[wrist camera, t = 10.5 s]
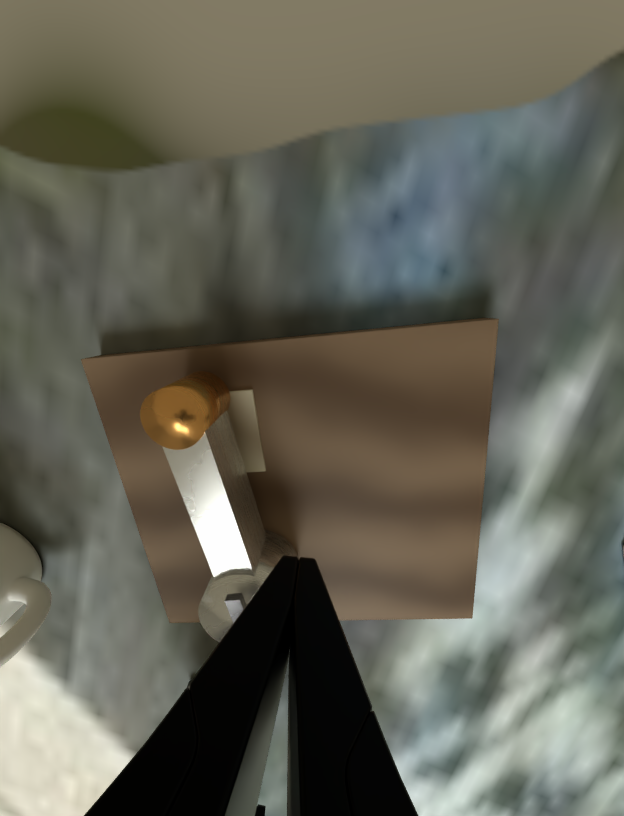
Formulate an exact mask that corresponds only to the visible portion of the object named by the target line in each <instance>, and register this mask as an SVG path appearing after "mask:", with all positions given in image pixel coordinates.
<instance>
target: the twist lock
mask: <svg viewBox="0 0 624 816" xmlns="http://www.w3.org/2000/svg"><path fill="white" fill-rule="evenodd" d="M229 406H230V393H229V390H228V388H227V386H226V384H225V383H224V382H223V381H222V380H221V379H220V378H219V377H218V376H216V375H214V374H212V373H209V372H204V371H199V372H194V373H192V374H190V375H188V376H186V377H183V378H181V379H179V380H177V381H175V382H173V383H171V384H169V385H167V386H165V387H163V388H160V389H158V390H156V391H154V392H152V393H151V394H149V395H148V396H147V397H146V398H145V400H144V401H143V403H142V406H141V410H140V419H141V423H142V426H143V428H144V430H145V432H146V433H147V434H148V436H149V437H150V438H151V439H152V440H153V441H155V442H156V443H157V444H159V445H161V446H162V447H163V450H164V452H165V455H166V457H167V460H168V462H169V465H170V467H171V470H172V473H173V475H174V478H175V480H176V483H177V485H178V488H179V490H180V493H181V495H182V498H183V500H184V503H185V505H186V508H187V510H188V513H189V515H190V518H191V520H192V523H193V526H194V528H195V531H196V533H197V536H198V538H199V541H200V543H201V546H202V548H203V551H204V553H205V556H206V558H207V561H208V563H209V566H210V568H211V571H212V577H211V579H210V581H209V583H208V586H207V588H206V590H205V592H204V595H203V597H202V599H201V601H200V604H199V608H198V616H199V620H200V623H201V625H202V627H203V628H204V630H205V631H206V632H207V633H208V634H209V635H210V636H211V637H212V638H213V639H215V640H216V641H217V642H219V643H220V641H221V640H222V638H223V637H224V636H225V634H226V633H227V632H228V630H229V629H230V627H231V626H232V625H233V623H234V622H235V620H236V619H237V618H238V616H239V615H240V614H241V612H242V611H243V609H244V608H245V607H246V605H247V604H248V603H249V601H250V600H251V598H252V597H253V596H254V594H255V593H256V592H257V590H258V589H259V587H260V586H261V585H262V583H263V582H264V581H265V579H266V578H267V576H268V575H269V574H270V572H271V571H272V570H273V568H274V567H275V565H276V564H277V563H278V561H279V560H280V559H281V557H282V556H284V555H289V556H297V554H296V551H295V549H294V548H293V546H292V545H291V544H290V542H289V541H288V540H286V539H285V538H284V537H282V536H281V535H279V534H277V533H275V532H272V531H269V530H265V529H264V527H263V524H262V521H261V517H260V514H259V511H258V508H257V505H256V501H255V498H254V495H253V492H252V489H251V485H250V482H249V479H248V476H247V473H246V469H245V466H244V463H243V460H242V457H241V453H240V450H239V447H238V444H237V441H236V437H235V434H234V431H233V428H232V424H231V421H230V418H229V415H228V412H227V410H228V408H229Z"/></svg>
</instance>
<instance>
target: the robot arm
mask: <svg viewBox="0 0 624 816" xmlns="http://www.w3.org/2000/svg"><path fill="white" fill-rule="evenodd" d="M289 650H290V654H289ZM288 658H289V685H288V773H287V816H418V814H417V812H416V810H415V807H414V805H413V803H412V801H411V799H410V797H409V794H408V792H407V790H406V788H405V786H404V783H403V781H402V779H401V777H400V774H399V772H398V770H397V767H396V765H395V762H394V760H393V757H392V755H391V753H390V750H389V748H388V745H387V743H386V740H385V738H384V735H383V733H382V730H381V728H380V725H379V722H378V720H377V717H376V715H375V712H374V711H372V705H371V702H370V699H369V697H368V694H367V692H366V689H365V686H364V684H363V681H362V679H361V676H360V673H359V671H358V668H357V666H356V663H355V660H354V658H353V655H352V653H351V650H350V647H349V645H348V642H347V639H346V637H345V634H344V632H343V629H342V626H341V624H340V621H339V619H338V616H337V613H336V611H335V608H334V606H333V603H332V600H331V598H330V595H329V593H328V590H327V587H326V585H325V582H324V580H323V577H322V574H321V572H320V569H319V566H318V564H317V561H316V560H315V559H314V558H307V557H300V559H299V558H298V557H297V556H289V555H284V556H282V557H281V559H280V560H279V561H278V563H277V564H276V565H275V567H274V568H273V570H272V571H271V572H270V574H269V575H268V576H267V578H266V579H265V581H264V582H263V583H262V585H261V586H260V587H259V589H258V590H257V592H256V593H255V594H254V596H253V597H252V598H251V600H250V601H249V603H248V604H247V605H246V607H245V608H244V609H243V611H242V612H241V614H240V615H239V616H238V618H237V619H236V620H235V622H234V623H233V625H232V626H231V627H230V629H229V630H228V632H227V633H226V634H225V636H224V637H223V638H222V640H221V641H220V643H219V644H218V645H217V647H216V648H215V649H214V651H213V652H212V654H211V655H210V656H209V658H208V659H207V660H206V662H205V663H204V665H203V666H202V667H201V669H200V670H199V671H198V673H197V674H196V676H195V677H194V678H193V680H191V681H189V683H188V686H187V688H186V689H185V690H184V692H183V693H182V695H181V696H180V697H179V699H178V700H177V701H176V703H175V704H174V706H173V707H172V708H171V710H170V711H169V712H168V714H167V715H166V716H165V718H164V719H163V720H162V722H161V723H160V724H159V725H158V727H157V728H156V729H155V731H154V732H153V733H152V735H151V736H150V737H149V739H148V740H147V741H146V743H145V744H144V745H143V746H142V747H141V749H140V750H139V751H138V752H137V753H136V755H135V756H134V757H133V758H132V760H131V761H130V762H129V763H128V764H127V766H126V767H125V768H124V769H123V770H122V772H121V773H120V774H119V775H118V776H117V778H116V779H115V780H114V781H113V782H112V784H111V785H110V786H109V787H108V788H107V789H106V791H105V792H104V793H103V794H102V795H101V796H100V798H99V799H98V800H97V801H96V802H95V803H94V805H93V806H92V807H91V808H90V809H89V810H88V812H87V813H86V814H85V815H84V816H265V806H263V805H259V804H258V806H257V803H258V798H259V794H260V789H261V785H262V780H263V775H264V771H265V766H266V761H267V757H268V752H269V748H270V743H271V738H272V734H273V729H274V724H275V720H276V715H277V711H278V706H279V701H280V697H281V692H282V687H283V683H284V678H285V674H286V669H287V663H288Z"/></svg>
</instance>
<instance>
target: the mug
mask: <svg viewBox="0 0 624 816" xmlns="http://www.w3.org/2000/svg"><path fill="white" fill-rule="evenodd" d="M41 577H42V565H41V561H40V558H39V556H38V553H37V552H36V550H35V549H34V547H33V546H32V545H31V543H30V542H29V541H28V540H27V539H26V538H25V537H24V536H22V535H21V534H20V533H19V532H17V531H16V530H14V529H13V528H11V527H9V526H7V525H5V524H3V523H0V626H1V625H2V624H4V623H5V622H6V621H7V620H8V619H9V618H10V617H11V616H12V615H13V614H14V613H15V612H16V611H17V610H18V609H19V608H20V607H21V606H22V605H23V604H24V603H25V604H26V609H25V611H24V613H23V615H22V616H21V617H20V619H19V620H18V621H17V622H16V623H15V625H14V626H13V627H12V628H11V629H10V630H9V631H8V632H7V633H6V634H4V635H3V636H2V637H1V638H0V667H1V666H3V665H4V664H5V663H6V662H8V661H9V660H10V659H11V658H12V657H13V656H14V655H15V654H16V653H18V652H19V651H20V650H21V649H22V648H23V647H24V646H25V645H26V643H27V642H28V641H29V640H30V639H31V638H32V637H33V635H34V634H35V633H36V632H37V630H38V629H39V627H40V626H41V625H42V623H43V621H44V620H45V618H46V616H47V614H48V612H49V610H50V606H51V595H52V594H51V592H50V589H49V588H48V587H47V586H46V585H45V584H44V583H43V582H41Z"/></svg>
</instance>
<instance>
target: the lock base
mask: <svg viewBox="0 0 624 816" xmlns="http://www.w3.org/2000/svg"><path fill="white" fill-rule="evenodd" d="M498 320H499V319H492V318H478V319H468V320H457V321H447V322H437V323H426V324H416V325H406V326H396V327H385V328H375V329H365V330H355V331H344V332H334V333H324V334H314V335H303V336H293V337H283V338H273V339H262V340H252V341H242V342H231V343H221V344H211V345H201V346H190V347H180V348H170V349H160V350H149V351H139V352H129V353H119V354H108V355H99V356H95V357H90V358H85V359H81V361H82V364H83V367H84V370H85V373H86V376H87V379H88V382H89V385H90V388H91V391H92V394H93V397H94V399H95V402H96V405H97V408H98V411H99V414H100V417H101V420H102V423H103V426H104V429H105V432H106V435H107V438H108V441H109V444H110V447H111V450H112V453H113V456H114V459H115V462H116V465H117V468H118V471H119V474H120V477H121V480H122V483H123V486H124V489H125V492H126V495H127V498H128V501H129V503H130V506H131V509H132V512H133V515H134V518H135V521H136V524H137V527H138V530H139V533H140V536H141V539H142V542H143V545H144V548H145V551H146V554H147V557H148V560H149V563H150V566H151V569H152V572H153V575H154V578H155V581H156V584H157V587H158V590H159V593H160V596H161V599H162V602H163V604H164V607H165V610H166V613H167V616H168V619H169V622H170V623H192V622H200V620H199V616H198V608H199V604H200V601H201V599H202V597H203V595H204V592H205V590H206V588H207V586H208V583H209V581H210V579H211V577H212V571H211V568H210V566H209V563H208V561H207V558H206V556H205V553H204V551H203V548H202V546H201V543H200V541H199V538H198V536H197V533H196V531H195V528H194V526H193V523H192V520H191V518H190V515H189V513H188V510H187V508H186V505H185V503H184V500H183V498H182V495H181V493H180V490H179V488H178V485H177V483H176V480H175V478H174V475H173V473H172V470H171V467H170V465H169V462H168V460H167V457H166V455H165V452H164V450H163V447H162V446H161V445H159V444H157V443H156V442H155V441H153V440H152V439H151V438H150V437H149V436H148V434H147V433H146V432H145V430H144V428H143V426H142V423H141V419H140V410H141V406H142V403H143V401H144V400H145V398H146V397H147V396H148V395H149V394H151V393H152V392H154V391H156V390H158V389H160V388H163V387H165V386H167V385H169V384H171V383H173V382H175V381H177V380H179V379H181V378H183V377H186V376H188V375H190V374H192V373H194V372H199V371H204V372H209V373H212V374H214V375H216V376H218V377H219V378H220V379H221V380H222V381H223V382H224V383H225V384H226V386H227V388H228V390H229V393H230V406H229V408H228V410H227V412H228V415H229V418H230V421H231V424H232V428H233V431H234V434H235V437H236V441H237V444H238V447H239V450H240V453H241V457H242V460H243V463H244V466H245V469H246V473H247V476H248V479H249V482H250V485H251V489H252V492H253V495H254V498H255V501H256V505H257V508H258V511H259V514H260V517H261V521H262V524H263V527H264V529H265V530H269V531H272V532H275V533H277V534H279V535H281V536H282V537H284V538H285V539H286V540H288V541H289V542H290V544H291V545H292V546H293V548H294V549H295V551H296V554H297V557H298V558H299V559H300V557H307V558H314V559H315V560H316V561H317V564H318V566H319V569H320V572H321V574H322V577H323V580H324V582H325V585H326V587H327V590H328V593H329V595H330V598H331V600H332V603H333V606H334V608H335V611H336V613H337V616H338V619H339V620H392V619H458V618H472V615H473V604H474V593H475V581H476V570H477V559H478V547H479V536H480V525H481V513H482V502H483V490H484V479H485V468H486V456H487V445H488V434H489V422H490V411H491V400H492V388H493V377H494V366H495V354H496V343H497V332H498Z"/></svg>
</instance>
